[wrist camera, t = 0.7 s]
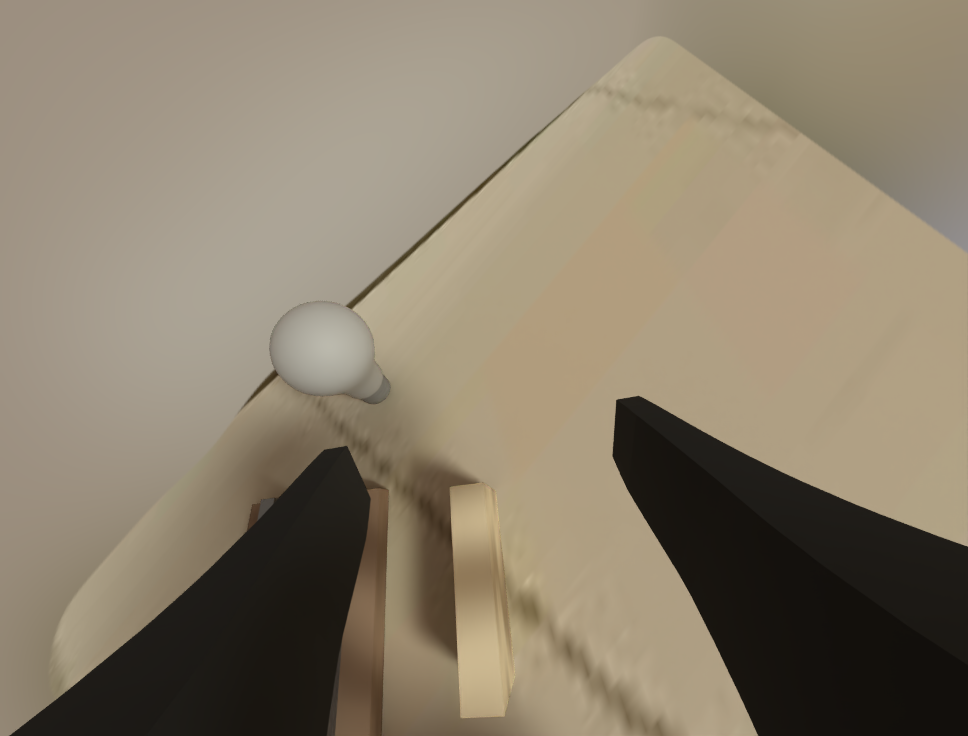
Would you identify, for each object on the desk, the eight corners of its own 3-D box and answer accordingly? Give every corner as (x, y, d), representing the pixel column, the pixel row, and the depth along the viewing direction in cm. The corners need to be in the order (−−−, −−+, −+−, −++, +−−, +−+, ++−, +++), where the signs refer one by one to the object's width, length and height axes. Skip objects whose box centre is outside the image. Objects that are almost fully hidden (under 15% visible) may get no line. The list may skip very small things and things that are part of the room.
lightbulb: (339, 428, 28) (227, 373, 19) (356, 362, 31) (264, 283, 21) (408, 428, 27) (327, 370, 17) (419, 360, 30) (354, 276, 20)
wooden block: (515, 674, 20) (504, 716, 15) (481, 676, 20) (460, 718, 15) (496, 491, 24) (483, 482, 20) (468, 494, 24) (449, 486, 20)
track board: (375, 928, 16) (340, 1005, 14) (193, 921, 17) (128, 991, 15) (388, 490, 25) (369, 485, 23) (267, 506, 26) (235, 503, 24)
